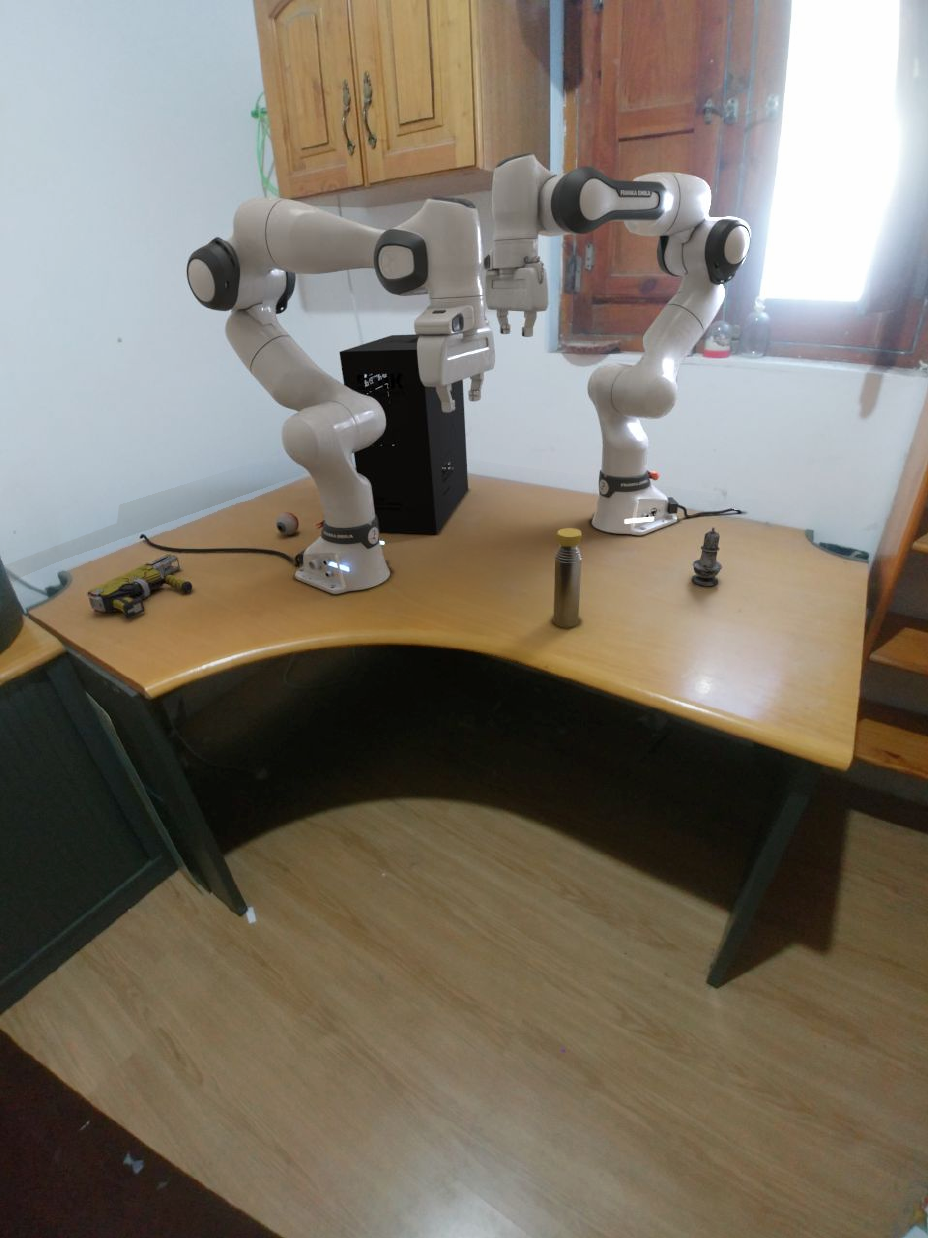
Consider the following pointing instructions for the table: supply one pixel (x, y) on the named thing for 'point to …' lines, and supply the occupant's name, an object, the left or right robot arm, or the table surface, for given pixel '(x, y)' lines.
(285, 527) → the eyeball
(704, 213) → the right robot arm
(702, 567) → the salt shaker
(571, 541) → the cap
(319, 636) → the table surface
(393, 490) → the black box
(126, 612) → the toy gun
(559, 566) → the bottle
